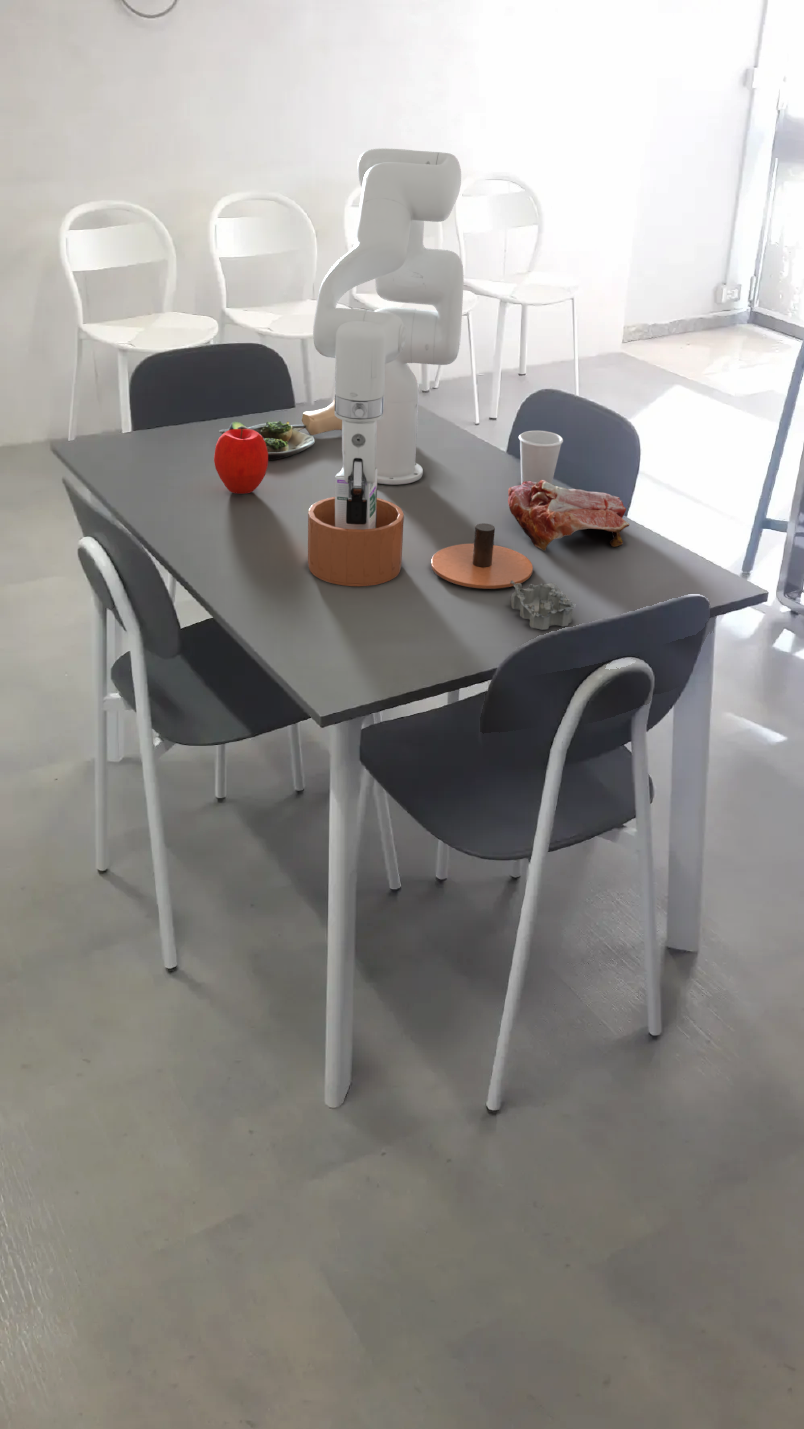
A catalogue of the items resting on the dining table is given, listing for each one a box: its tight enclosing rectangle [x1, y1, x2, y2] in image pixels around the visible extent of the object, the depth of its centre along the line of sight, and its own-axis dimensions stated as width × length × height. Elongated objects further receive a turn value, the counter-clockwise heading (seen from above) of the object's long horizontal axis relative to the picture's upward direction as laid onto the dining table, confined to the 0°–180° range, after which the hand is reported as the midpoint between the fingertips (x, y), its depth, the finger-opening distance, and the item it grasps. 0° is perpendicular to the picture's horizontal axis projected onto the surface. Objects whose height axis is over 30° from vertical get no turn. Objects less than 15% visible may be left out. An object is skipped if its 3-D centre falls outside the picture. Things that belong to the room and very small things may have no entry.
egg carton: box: [510, 581, 577, 631], centre depth 195 cm, size 11×8×4 cm
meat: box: [507, 480, 630, 552], centre depth 223 cm, size 21×21×10 cm
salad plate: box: [217, 420, 316, 461], centre depth 257 cm, size 19×18×5 cm
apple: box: [213, 429, 269, 495], centre depth 231 cm, size 10×10×12 cm
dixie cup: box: [518, 430, 564, 485], centre depth 241 cm, size 8×8×10 cm
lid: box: [430, 522, 534, 590], centre depth 207 cm, size 17×17×8 cm
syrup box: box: [334, 466, 378, 530], centre depth 203 cm, size 6×6×14 cm
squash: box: [301, 398, 342, 436], centre depth 265 cm, size 11×20×9 cm, turn 118°
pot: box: [307, 496, 405, 587], centre depth 206 cm, size 15×15×10 cm
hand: (356, 513), depth 203 cm, fingers closed on syrup box, 6 cm apart
